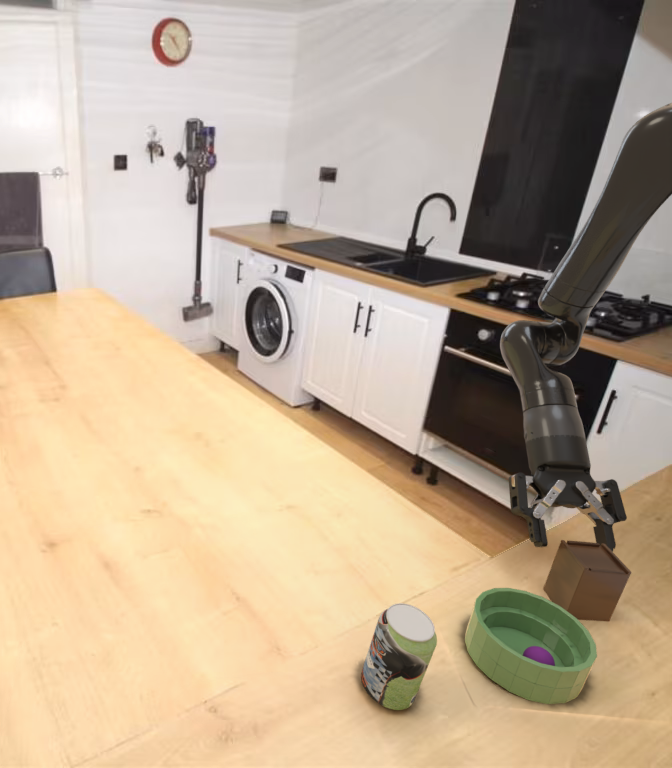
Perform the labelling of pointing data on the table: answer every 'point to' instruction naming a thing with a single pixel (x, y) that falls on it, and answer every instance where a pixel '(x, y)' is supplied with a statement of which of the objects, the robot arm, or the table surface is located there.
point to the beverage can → (398, 656)
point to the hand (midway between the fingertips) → (573, 549)
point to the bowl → (529, 645)
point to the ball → (539, 655)
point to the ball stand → (586, 580)
